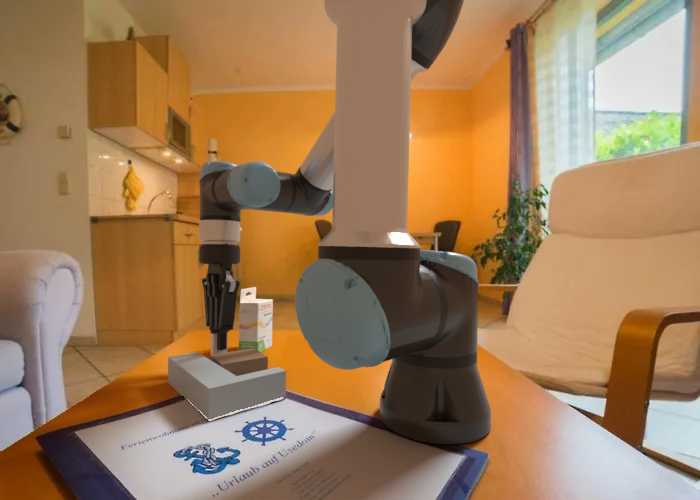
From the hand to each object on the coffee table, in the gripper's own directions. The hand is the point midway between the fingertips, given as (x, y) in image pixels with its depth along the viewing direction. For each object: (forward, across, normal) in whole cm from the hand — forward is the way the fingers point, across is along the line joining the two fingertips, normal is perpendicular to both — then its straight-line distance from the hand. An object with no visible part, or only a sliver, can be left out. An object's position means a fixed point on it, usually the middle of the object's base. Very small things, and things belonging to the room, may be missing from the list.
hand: (218, 365), depth 70 cm
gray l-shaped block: (+1, -10, +3) cm, 10 cm away
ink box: (+2, +11, -14) cm, 18 cm away
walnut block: (+2, -8, 0) cm, 8 cm away
